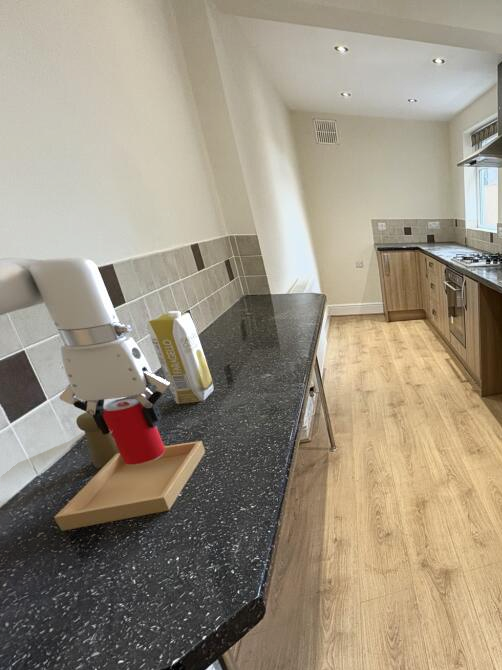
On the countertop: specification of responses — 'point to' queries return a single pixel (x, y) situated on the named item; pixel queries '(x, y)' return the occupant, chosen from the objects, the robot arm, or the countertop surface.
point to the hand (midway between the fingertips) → (132, 426)
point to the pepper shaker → (97, 441)
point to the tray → (132, 488)
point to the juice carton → (181, 356)
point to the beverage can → (132, 432)
